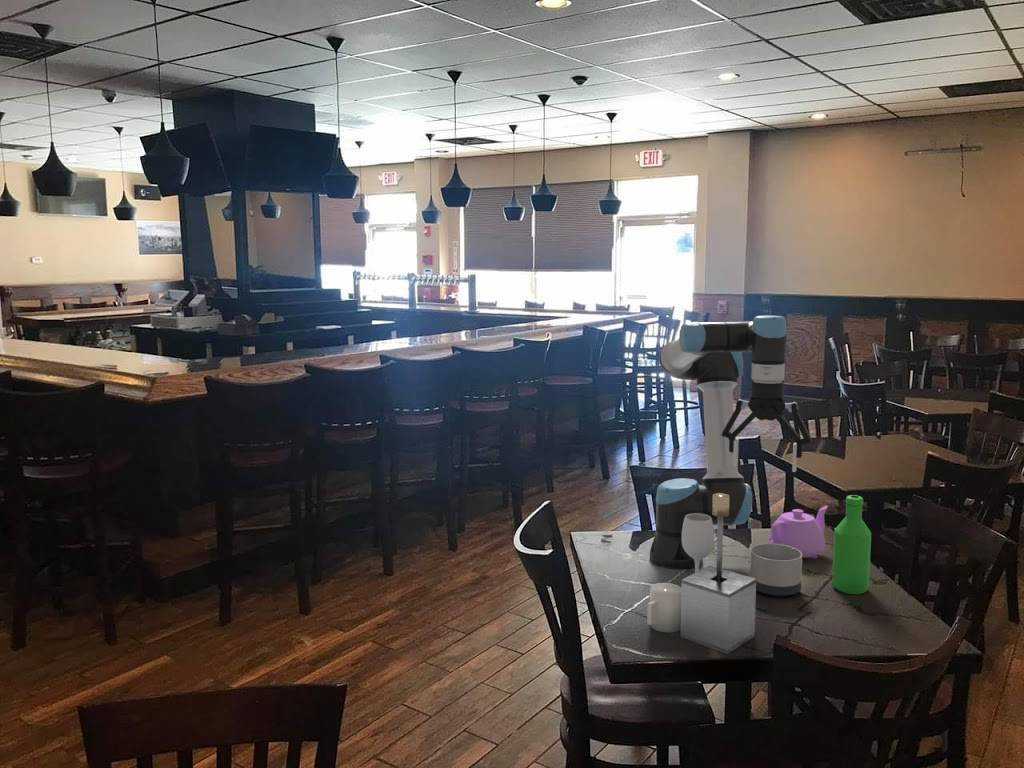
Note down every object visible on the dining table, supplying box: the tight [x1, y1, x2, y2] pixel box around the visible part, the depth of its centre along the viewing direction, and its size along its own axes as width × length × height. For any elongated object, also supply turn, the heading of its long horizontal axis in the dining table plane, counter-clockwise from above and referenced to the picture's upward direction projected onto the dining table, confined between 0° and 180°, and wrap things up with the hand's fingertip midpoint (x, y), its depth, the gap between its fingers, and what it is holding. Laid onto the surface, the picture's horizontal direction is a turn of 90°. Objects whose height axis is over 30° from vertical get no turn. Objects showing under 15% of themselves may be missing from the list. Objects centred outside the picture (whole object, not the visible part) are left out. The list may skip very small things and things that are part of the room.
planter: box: [749, 543, 803, 597], centre depth 204 cm, size 13×13×10 cm
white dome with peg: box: [646, 582, 681, 633], centre depth 184 cm, size 8×11×9 cm
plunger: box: [712, 493, 729, 583], centre depth 176 cm, size 9×9×23 cm
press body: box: [680, 565, 757, 655], centre depth 178 cm, size 12×12×14 cm
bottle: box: [831, 494, 872, 595], centre depth 203 cm, size 9×9×25 cm
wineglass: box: [682, 513, 715, 573], centre depth 201 cm, size 9×9×21 cm
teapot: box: [768, 505, 829, 560], centre depth 229 cm, size 22×16×14 cm
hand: (764, 468), depth 189 cm, fingers open, 13 cm apart
